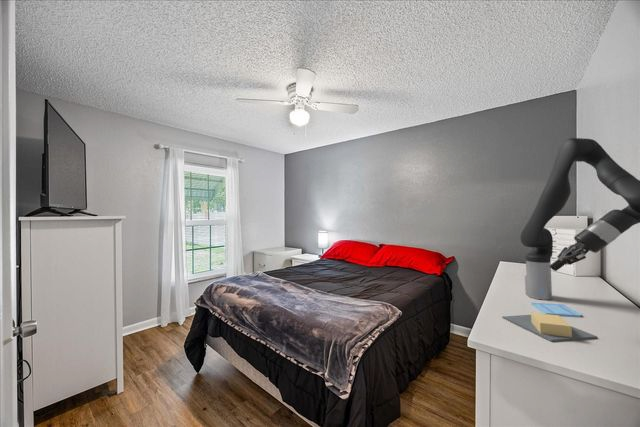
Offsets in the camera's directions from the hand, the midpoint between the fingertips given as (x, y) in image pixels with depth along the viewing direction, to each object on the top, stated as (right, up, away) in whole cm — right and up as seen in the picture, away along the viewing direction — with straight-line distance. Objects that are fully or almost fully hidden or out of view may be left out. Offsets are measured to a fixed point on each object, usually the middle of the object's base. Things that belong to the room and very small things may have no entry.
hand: (552, 268), depth 97 cm
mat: (-5, -20, -3) cm, 21 cm away
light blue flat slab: (+12, -20, +13) cm, 27 cm away
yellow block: (-4, -18, -2) cm, 18 cm away
